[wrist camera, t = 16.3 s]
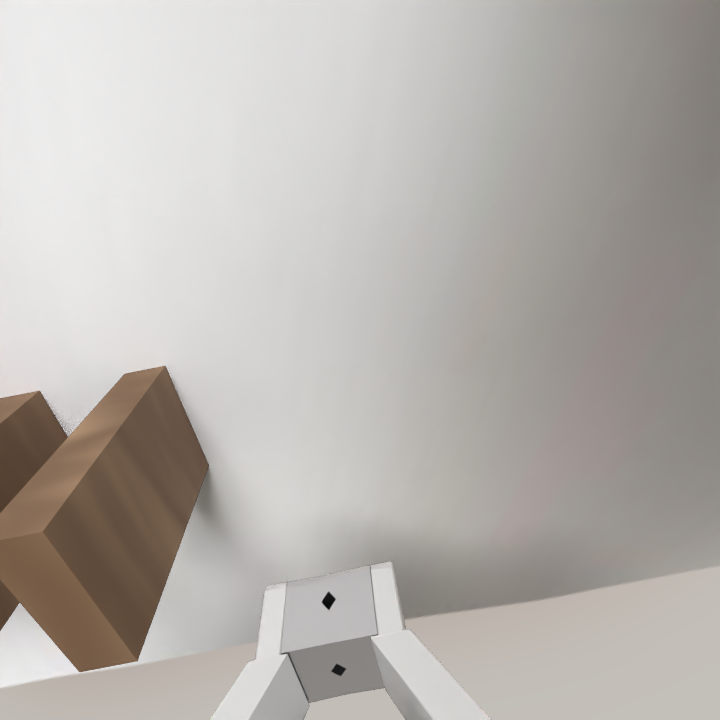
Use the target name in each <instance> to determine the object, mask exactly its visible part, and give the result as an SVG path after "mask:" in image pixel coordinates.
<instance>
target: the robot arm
mask: <svg viewBox="0 0 720 720" xmlns="http://www.w3.org/2000/svg"><path fill="white" fill-rule="evenodd" d="M381 688H385V689H386V691H387V693H388V694H389V696H390V697H391V699H392V700H393V702H394V703H395V705H396V706H397V708H398V709H399V711H400V712H401V714H402V715H403V717H404V718H405V719H406V720H491V719H490V718H489V717H488V716H487V714H486V713H485V712H484V711H483V710H482V709H481V708H480V707H479V705H478V704H477V703H476V702H475V701H474V700H473V699H472V698H471V696H470V695H469V694H468V693H467V692H466V691H465V690H464V689H463V687H462V686H461V685H460V684H459V683H458V682H457V681H456V680H455V679H454V677H453V676H452V675H451V674H450V673H449V672H448V671H447V669H446V668H445V667H444V666H443V665H442V664H441V663H440V662H439V661H438V659H437V658H436V657H435V656H434V655H433V654H432V653H431V652H430V650H429V649H428V648H427V647H426V646H425V645H424V644H423V643H422V641H421V640H420V639H419V638H418V637H417V636H416V635H415V634H414V632H412V630H411V629H408V630H406V627H405V621H404V616H403V611H402V606H401V602H400V597H399V592H398V588H397V583H396V578H395V574H394V569H393V564H392V561H390V562H385V563H380V564H375V565H371V566H370V565H367V566H363V567H358V568H354V569H349V570H344V571H340V572H335V573H330V574H329V575H325V576H319V577H313V578H307V579H301V580H295V581H289V582H284V583H279V584H274V585H268V586H267V588H266V590H265V592H264V598H263V605H262V612H261V620H260V627H259V634H258V642H257V649H256V657H255V660H251V661H248V663H247V664H246V666H245V667H244V669H243V670H242V672H241V673H240V675H239V676H238V678H237V679H236V681H235V682H234V684H233V685H232V687H231V688H230V690H229V691H228V693H227V694H226V696H225V697H224V699H223V700H222V702H221V703H220V705H219V706H218V708H217V709H216V711H215V712H214V714H213V715H212V717H211V718H210V720H304V718H305V715H306V713H307V710H308V708H309V703H311V702H315V701H319V700H324V699H328V698H333V697H337V696H341V695H346V694H351V693H357V692H363V691H369V690H375V689H381Z"/></svg>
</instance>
